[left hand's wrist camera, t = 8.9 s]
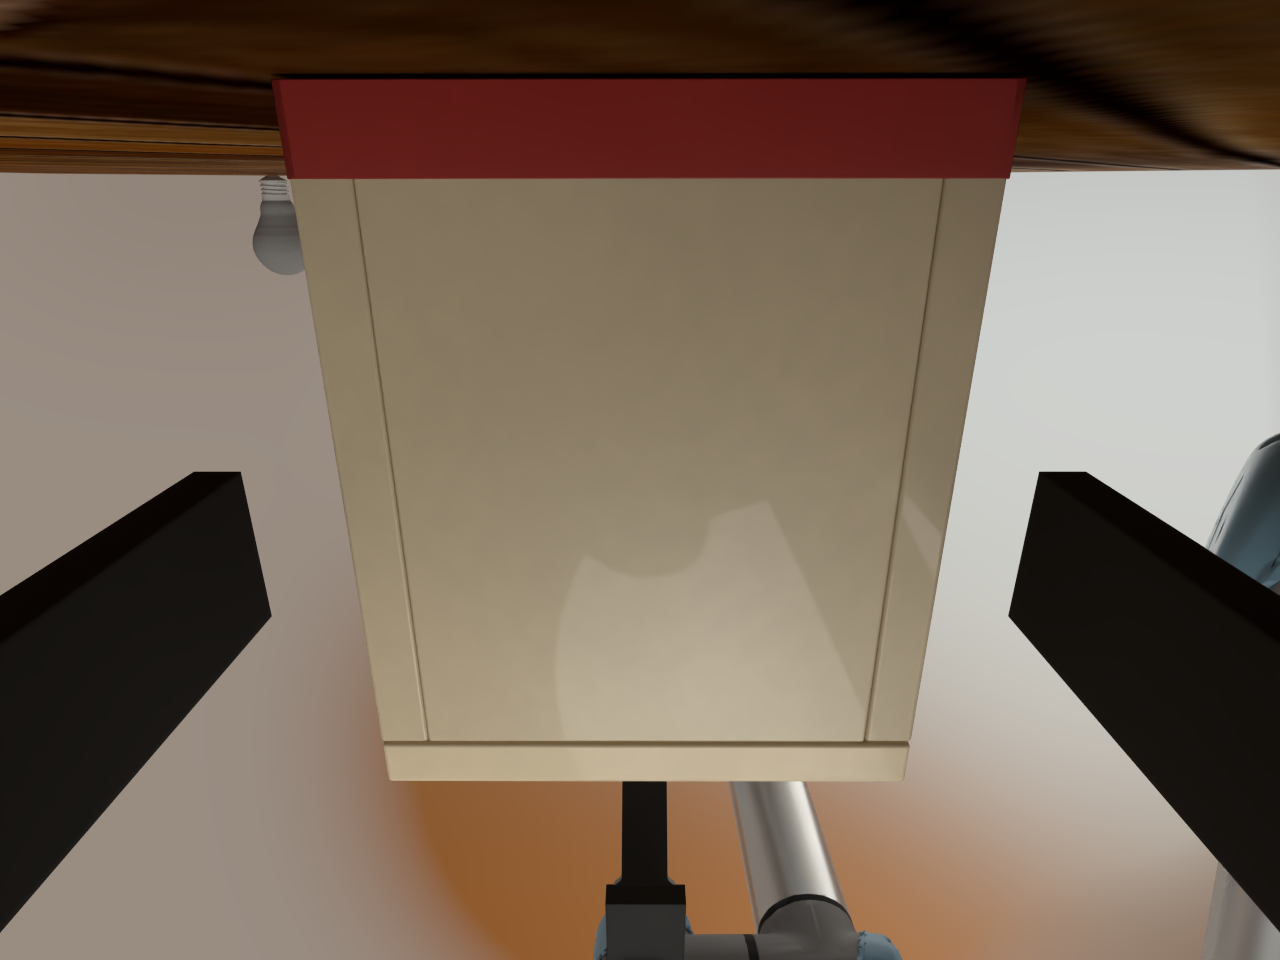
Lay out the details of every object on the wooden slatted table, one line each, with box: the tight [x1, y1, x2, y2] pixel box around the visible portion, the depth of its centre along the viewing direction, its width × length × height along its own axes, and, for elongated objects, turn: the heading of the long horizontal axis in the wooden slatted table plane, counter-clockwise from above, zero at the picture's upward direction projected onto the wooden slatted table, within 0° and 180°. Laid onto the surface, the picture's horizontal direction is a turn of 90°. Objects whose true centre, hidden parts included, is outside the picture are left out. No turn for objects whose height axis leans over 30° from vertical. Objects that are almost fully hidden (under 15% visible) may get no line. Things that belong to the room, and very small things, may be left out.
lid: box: [384, 737, 909, 782], centre depth 23 cm, size 18×9×8 cm, turn 0°
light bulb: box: [253, 176, 305, 275], centre depth 78 cm, size 6×6×10 cm
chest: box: [271, 78, 1027, 742], centre depth 19 cm, size 17×9×10 cm, turn 0°
